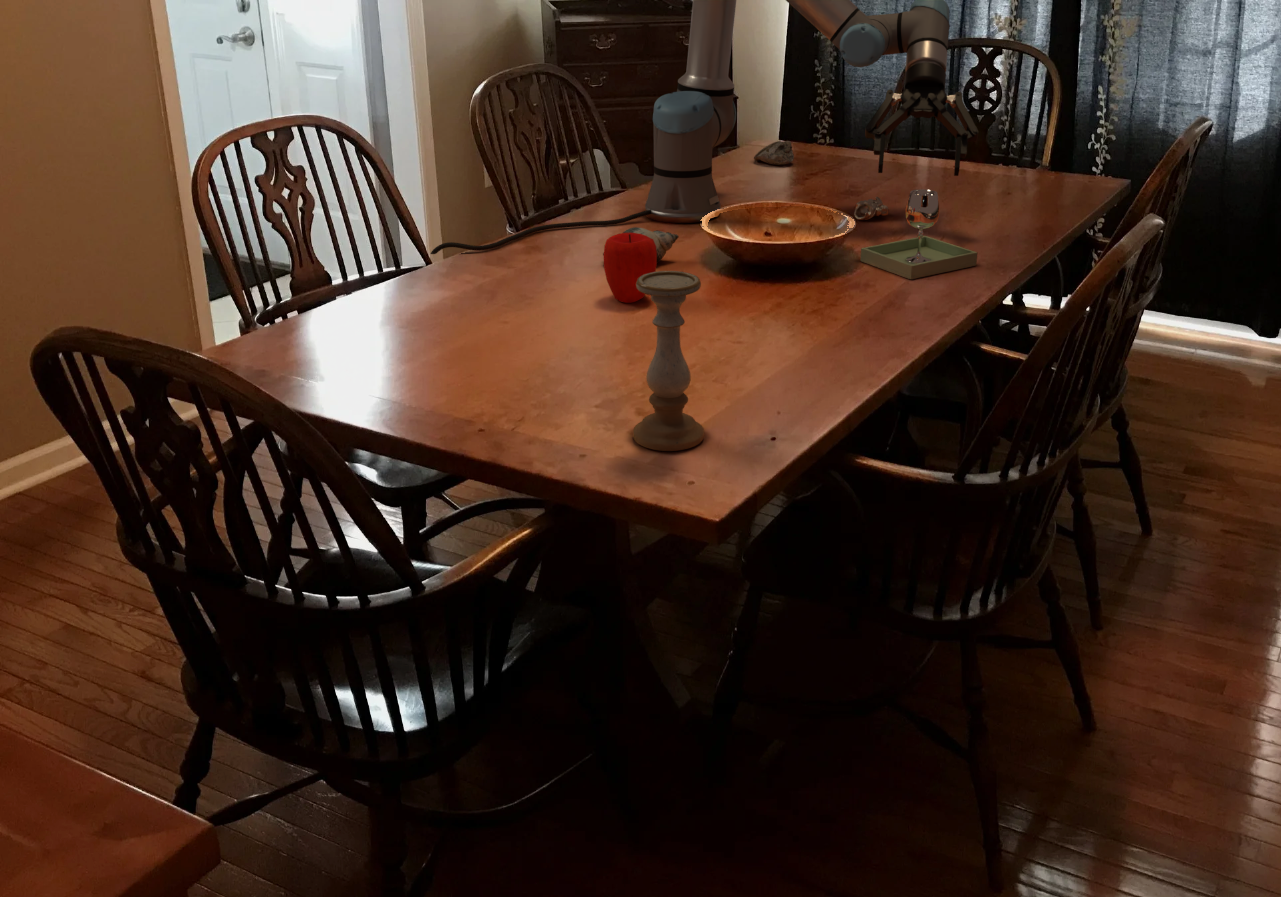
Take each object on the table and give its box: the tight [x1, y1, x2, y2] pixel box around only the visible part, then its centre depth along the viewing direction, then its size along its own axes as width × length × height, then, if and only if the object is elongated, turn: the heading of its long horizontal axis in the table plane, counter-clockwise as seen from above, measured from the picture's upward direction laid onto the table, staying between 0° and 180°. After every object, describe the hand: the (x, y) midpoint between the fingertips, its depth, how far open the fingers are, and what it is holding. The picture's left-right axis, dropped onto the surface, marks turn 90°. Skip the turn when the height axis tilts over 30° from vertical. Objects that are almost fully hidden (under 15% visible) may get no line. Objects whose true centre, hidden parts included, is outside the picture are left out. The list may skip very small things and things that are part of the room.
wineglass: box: [904, 188, 940, 263], centre depth 221 cm, size 6×6×12 cm
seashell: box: [602, 226, 679, 263], centre depth 225 cm, size 6×8×12 cm
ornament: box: [853, 196, 889, 221], centre depth 252 cm, size 8×7×4 cm
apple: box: [603, 232, 658, 304], centre depth 205 cm, size 9×9×11 cm
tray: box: [859, 235, 978, 280], centre depth 223 cm, size 15×13×2 cm
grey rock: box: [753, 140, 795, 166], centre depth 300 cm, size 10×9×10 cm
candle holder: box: [632, 270, 705, 452], centre depth 153 cm, size 9×9×20 cm
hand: (918, 170), depth 230 cm, fingers open, 13 cm apart
